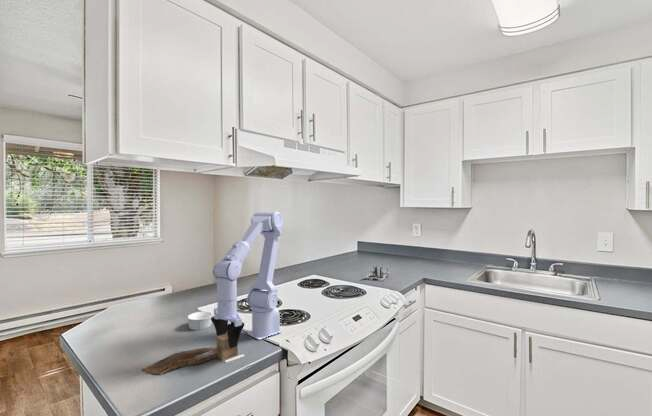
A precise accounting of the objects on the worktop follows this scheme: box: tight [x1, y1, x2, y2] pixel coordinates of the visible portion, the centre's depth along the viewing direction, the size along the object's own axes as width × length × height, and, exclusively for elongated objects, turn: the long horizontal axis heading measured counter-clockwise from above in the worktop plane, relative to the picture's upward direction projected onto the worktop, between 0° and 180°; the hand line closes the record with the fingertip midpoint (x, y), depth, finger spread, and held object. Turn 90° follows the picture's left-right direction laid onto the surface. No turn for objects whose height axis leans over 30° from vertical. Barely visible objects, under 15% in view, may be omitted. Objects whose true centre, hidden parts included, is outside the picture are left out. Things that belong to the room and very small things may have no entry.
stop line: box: [223, 354, 246, 364], centre depth 94 cm, size 6×1×1 cm, turn 134°
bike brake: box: [359, 265, 391, 282], centre depth 197 cm, size 14×7×20 cm
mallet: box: [195, 332, 239, 361], centre depth 94 cm, size 12×4×6 cm, turn 134°
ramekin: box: [187, 311, 214, 331], centre depth 120 cm, size 9×9×4 cm
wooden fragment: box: [141, 346, 219, 376], centre depth 95 cm, size 26×11×1 cm, turn 125°
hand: (227, 343), depth 97 cm, fingers open, 7 cm apart
